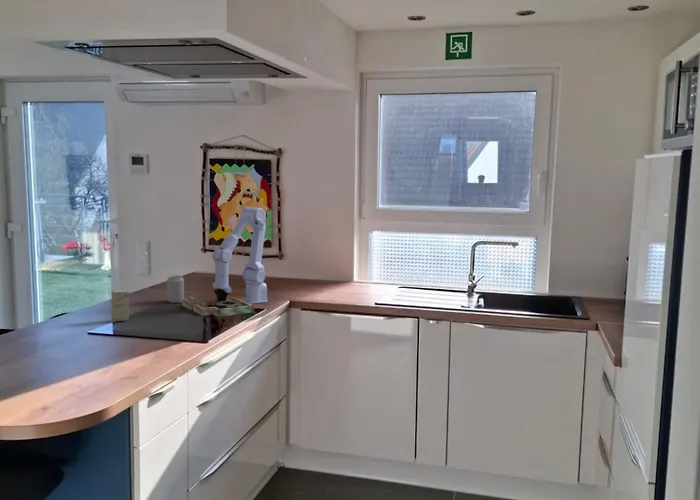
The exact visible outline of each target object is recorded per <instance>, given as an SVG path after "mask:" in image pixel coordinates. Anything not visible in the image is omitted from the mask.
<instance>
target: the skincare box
mask: <svg viewBox="0 0 700 500" xmlns="http://www.w3.org/2000/svg"><path fill="white" fill-rule="evenodd" d="M129 300H130V292H129V290H128V289H117V290H115V289H113V290H111V321H112V322H113V323H116V322H115V321H121V320H129V321H130V319H129V318H130V309H129V308H130V301H129Z"/></svg>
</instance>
